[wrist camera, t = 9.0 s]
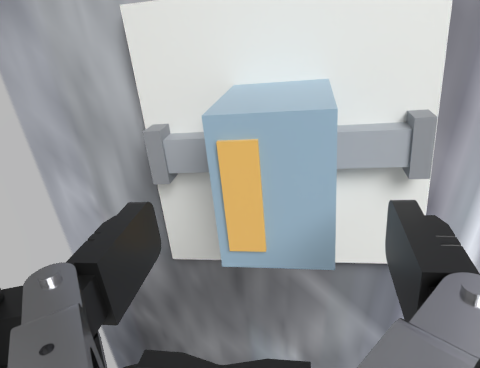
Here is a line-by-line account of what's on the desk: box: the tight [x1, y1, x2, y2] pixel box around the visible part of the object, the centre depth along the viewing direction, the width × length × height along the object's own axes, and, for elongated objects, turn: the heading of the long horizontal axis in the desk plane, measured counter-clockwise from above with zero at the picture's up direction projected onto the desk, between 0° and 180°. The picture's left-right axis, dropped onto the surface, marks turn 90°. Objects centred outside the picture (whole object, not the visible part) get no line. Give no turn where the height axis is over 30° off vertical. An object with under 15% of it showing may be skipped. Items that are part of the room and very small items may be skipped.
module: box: [202, 79, 338, 270], centre depth 18 cm, size 7×5×7 cm
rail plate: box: [120, 0, 452, 264], centre depth 20 cm, size 16×16×2 cm
